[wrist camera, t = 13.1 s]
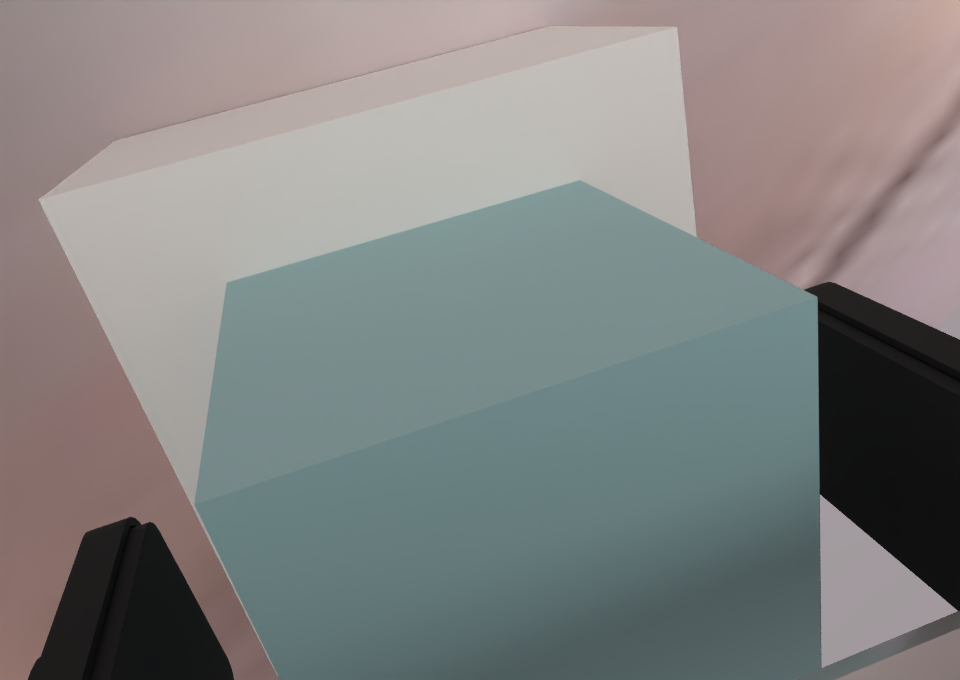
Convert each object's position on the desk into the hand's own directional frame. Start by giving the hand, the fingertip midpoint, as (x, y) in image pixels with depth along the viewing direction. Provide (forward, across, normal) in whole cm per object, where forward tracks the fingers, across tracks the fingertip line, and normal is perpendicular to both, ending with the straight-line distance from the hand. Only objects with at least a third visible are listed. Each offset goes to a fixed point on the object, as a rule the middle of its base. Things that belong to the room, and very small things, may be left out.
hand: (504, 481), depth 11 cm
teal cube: (+3, 0, 0) cm, 3 cm away
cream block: (+9, 0, 0) cm, 9 cm away
